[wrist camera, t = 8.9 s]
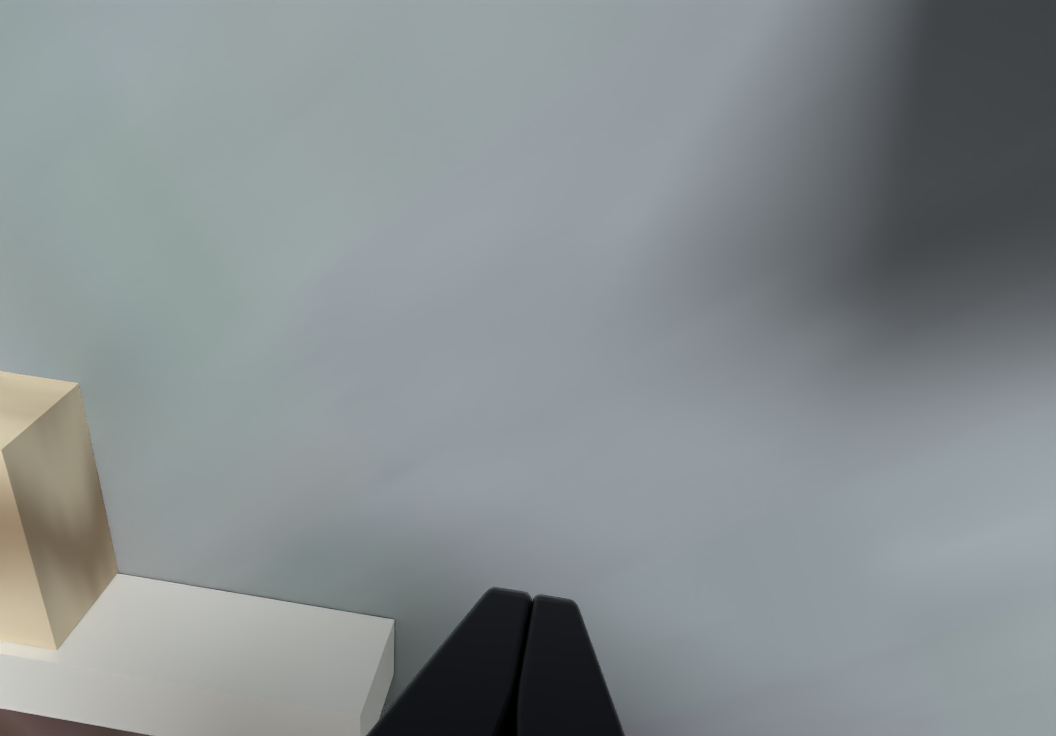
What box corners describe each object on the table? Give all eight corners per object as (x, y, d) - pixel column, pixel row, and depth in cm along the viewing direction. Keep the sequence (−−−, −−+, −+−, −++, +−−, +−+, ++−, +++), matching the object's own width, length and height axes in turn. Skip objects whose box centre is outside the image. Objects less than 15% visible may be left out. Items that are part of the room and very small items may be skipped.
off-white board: (393, 674, 27) (360, 773, 24) (-155, 580, 28) (-252, 662, 25) (394, 619, 26) (360, 716, 23) (-180, 523, 27) (-286, 603, 24)
